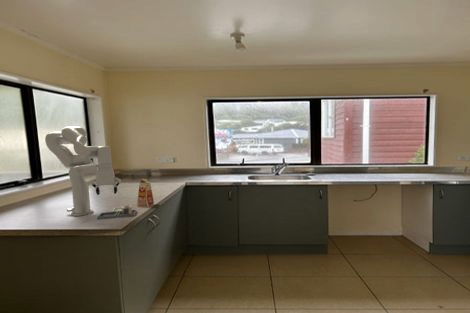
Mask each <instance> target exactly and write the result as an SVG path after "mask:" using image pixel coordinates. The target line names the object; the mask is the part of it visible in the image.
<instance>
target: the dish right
mask: <svg viewBox="0 0 470 313" xmlns="http://www.w3.org/2000/svg"><path fill="white" fill-rule="evenodd" d="M137 211H138V210H137V209H132V214H125V215H122V211H120V212H119V213H118V215H117V216H116V218H125V217H135V216H136V214H137Z"/></svg>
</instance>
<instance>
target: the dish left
mask: <svg viewBox="0 0 470 313" xmlns="http://www.w3.org/2000/svg"><path fill="white" fill-rule="evenodd" d="M118 213H119V211H116V212H111V211H107V212H106V211H105V212H101V213H100V214H98V216H97V217H96V218H97V219H96V220H104V219H115V218H117V215H118Z"/></svg>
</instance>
